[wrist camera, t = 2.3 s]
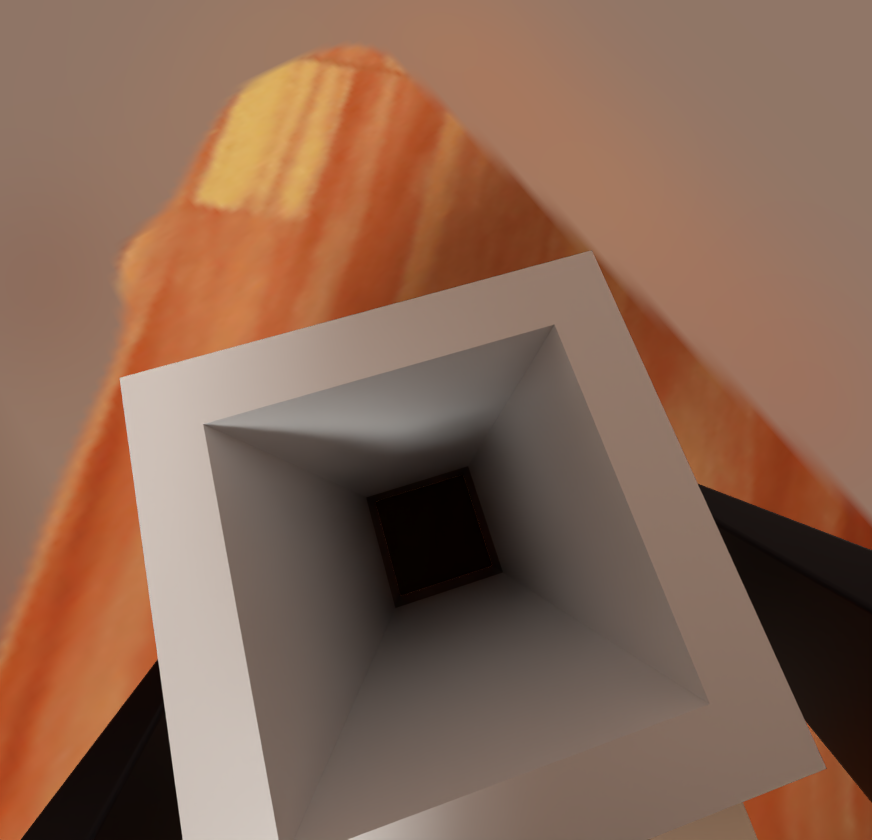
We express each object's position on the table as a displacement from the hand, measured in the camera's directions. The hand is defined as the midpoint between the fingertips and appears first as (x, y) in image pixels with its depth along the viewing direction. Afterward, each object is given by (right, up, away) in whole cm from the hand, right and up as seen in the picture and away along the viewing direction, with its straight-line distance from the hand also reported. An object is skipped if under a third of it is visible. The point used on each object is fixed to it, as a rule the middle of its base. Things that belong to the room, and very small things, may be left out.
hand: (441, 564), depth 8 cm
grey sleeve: (0, -2, +8) cm, 8 cm away
